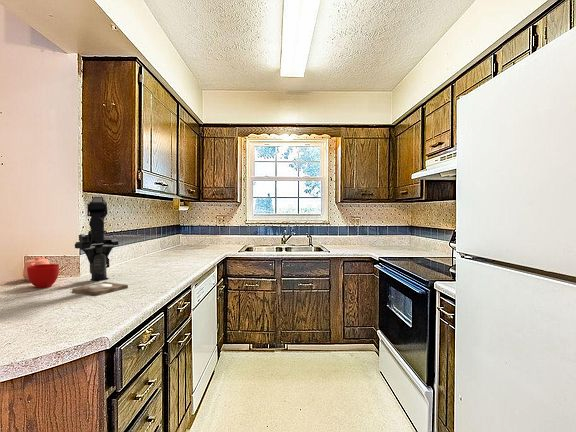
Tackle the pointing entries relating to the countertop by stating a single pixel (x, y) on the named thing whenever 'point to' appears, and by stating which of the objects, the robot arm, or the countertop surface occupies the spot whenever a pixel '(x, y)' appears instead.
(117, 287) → the walnut board
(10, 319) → the countertop surface
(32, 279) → the ceramic cup
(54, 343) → the countertop surface
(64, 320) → the countertop surface
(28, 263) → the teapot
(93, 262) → the supplement bottle
